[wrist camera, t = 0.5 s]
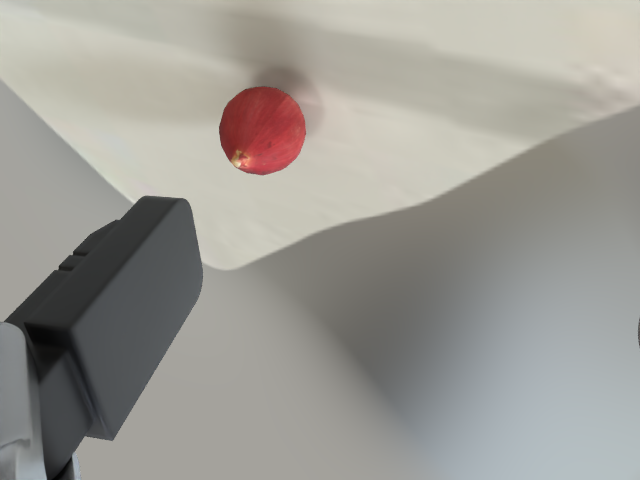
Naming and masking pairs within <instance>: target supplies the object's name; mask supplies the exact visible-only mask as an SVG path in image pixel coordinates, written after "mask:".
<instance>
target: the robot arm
mask: <svg viewBox="0 0 640 480" xmlns="http://www.w3.org/2000/svg"><path fill="white" fill-rule="evenodd" d="M202 279H203V269H202V263H201V257H200V252H199V246H198V241H197V236H196V230H195V225H194V220H193V214H192V210H191V207H190V204H189V202H188V201H187V200H186V199H183V198H171V197H157V196H143V197H142V198H140V199H139V200H138V201H137V202H136V203H135V205H134V206H133V207H132V208H131V209H130V210H129V211H128V212H127V213H126V214H125V215H124V216H123V217H122V218H121V219H120V220H115V221H113V222H111V223H109V224H107V225H106V226H104V227H102V228H100V229H99V230H97V231H95V232H94V233H92V234H90V235H89V236H88V237H87V238H86V239H85V240H84V241H83V242H82V243H81V244H80V245H79V246H78V247H77V248H76V249H75V250H74V251H73V255H69V256H68V257H67V258H66V259H65V260H64V261H63V262H62V263H61V264H60V265H59V269H58V270H54V271H53V272H52V273H51V274H50V276H48V278H47V279H46V280H45V281H44V282H43V283H42V284H41V285H40V286H39V287H38V288H37V289H36V290H35V291H34V292H33V293H32V294H31V295H30V296H29V297H28V298H27V299H26V300H25V301H24V302H23V303H22V304H21V305H20V306H19V307H18V308H17V309H16V310H15V311H14V312H13V313H12V314H11V315H10V316H9V317H8V318H7V319H6V320H5V321H4V322H0V480H81V475H80V467H79V461H78V458H77V455H76V453H75V450H76V449H77V447H78V446H79V444H80V442H81V441H82V439H83V438H84V436H87V437H93V438H99V439H105V440H111V441H112V440H113V439H114V438H115V436H116V435H117V433H118V431H119V430H120V428H121V426H122V425H123V423H124V421H125V420H126V418H127V416H128V415H129V413H130V411H131V410H132V408H133V406H134V405H135V403H136V401H137V400H138V398H139V396H140V394H141V393H142V391H143V390H144V388H145V386H146V384H147V383H148V381H149V380H150V378H151V376H152V375H153V373H154V371H155V370H156V368H157V366H158V365H159V363H160V361H161V360H162V358H163V356H164V355H165V353H166V351H167V349H168V348H169V346H170V345H171V343H172V341H173V340H174V338H175V336H176V334H177V333H178V331H179V330H180V328H181V326H182V325H183V323H184V321H185V320H186V318H187V316H188V315H189V313H190V312H191V310H192V308H193V307H194V305H195V303H196V302H197V300H198V297H199V295H200V292H201V287H202ZM638 339H639V346H640V319H639V327H638Z"/></svg>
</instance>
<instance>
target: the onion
mask: <svg viewBox="0 0 640 480" xmlns="http://www.w3.org/2000/svg"><path fill="white" fill-rule="evenodd" d="M219 134H220V141H221V146H222V148H223V150H224V152H225V154H226V156H227V158H228V159H229V161H230V162H231V163H232V164H233V165H234V166H235V167H236V168H238V169H240V170H242V171H244V172H246V173H251V174H258V175H266V174H270V173H273V172H276V171H280V170H282V169H284V168H286V167H287V166H288V165H289V164H290V163H291V162H292V161H294V160H295V159H296V157H297V156H298V155H299V153H300V151H301V148H302V146H303V143H304V140H305V135H306V129H305V120H304V116H303V114H302V112H301V109H300V107H299V105H298V104H297V103H296V102H295V101H294V100H293V99H292V98H291V97H290V96H289V95H288V94H286V93H284V92H283V91H281V90H279V89H277V88H271V87H255V88H250V89H245V90H244V91H242V92H240V93H239V94H237V95H236V96H235V97H234V98H233V99H232V100H231V101H229V103H228V104H227V106H226V107H225V109H224V112H223V115H222V119H221V122H220V126H219Z"/></svg>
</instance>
